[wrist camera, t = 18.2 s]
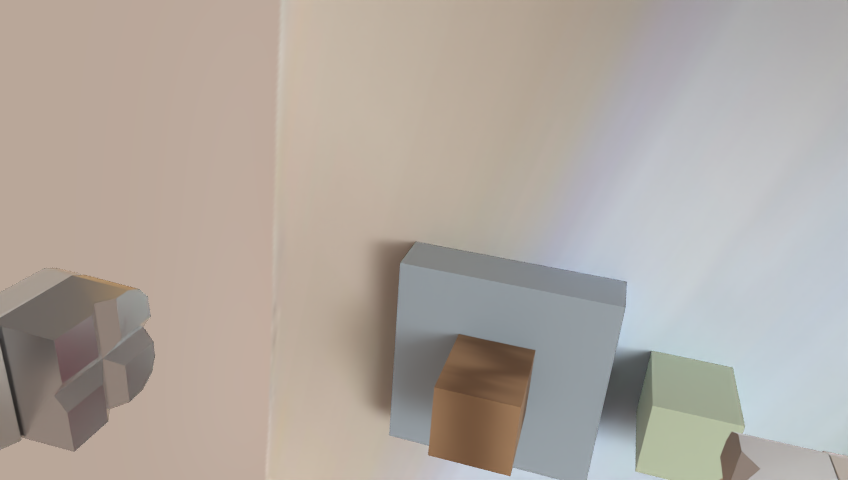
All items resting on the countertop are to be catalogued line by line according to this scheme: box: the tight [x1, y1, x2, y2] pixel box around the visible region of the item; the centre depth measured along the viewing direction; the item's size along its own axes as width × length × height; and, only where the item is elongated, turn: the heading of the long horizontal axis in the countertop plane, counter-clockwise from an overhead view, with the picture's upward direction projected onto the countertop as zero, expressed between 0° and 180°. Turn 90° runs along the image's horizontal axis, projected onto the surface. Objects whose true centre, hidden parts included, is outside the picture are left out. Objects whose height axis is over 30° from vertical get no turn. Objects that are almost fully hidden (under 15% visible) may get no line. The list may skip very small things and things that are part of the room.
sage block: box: [635, 351, 745, 480], centre depth 42 cm, size 5×5×6 cm
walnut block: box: [428, 334, 535, 476], centre depth 42 cm, size 5×5×6 cm
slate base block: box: [389, 242, 627, 480], centre depth 46 cm, size 14×14×4 cm
